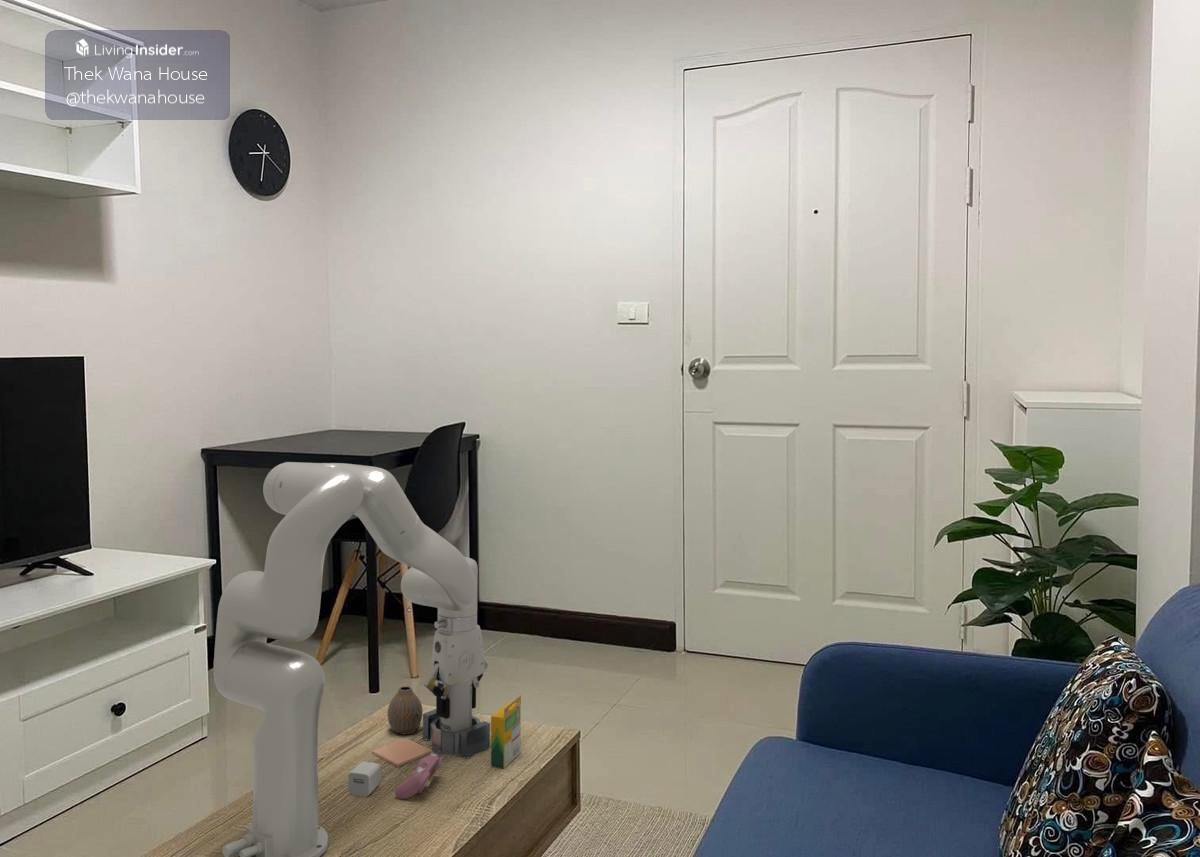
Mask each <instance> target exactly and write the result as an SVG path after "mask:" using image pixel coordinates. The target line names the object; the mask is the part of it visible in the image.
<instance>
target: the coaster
mask: <svg viewBox="0 0 1200 857" xmlns="http://www.w3.org/2000/svg"><path fill="white" fill-rule="evenodd" d="M432 752H433V749H430V748H428V747H426V746H424V745H422V744H419V743H417V742H414V741H413V740H411V739H408V738H406V737H405V738H403V739H399V740H397V741H394V742H391V743H389V744H386V745H383V746H382V747H378V748H375V749H373V750H371V754H372V755H373V756H376V757H378V758H379V759H382V760H383V761H385V760H386V761H385V762H387V763H389V762H390V764H391V763H392V765H394V766H395V765H396V766H395V767H396V768H398V767H401V766H403V765H406V764H408V763H411V762H413V761H416V760H418V759H422V758H424V757H426V756H428V755H429V754H431V753H432Z"/></svg>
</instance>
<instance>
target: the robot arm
mask: <svg viewBox="0 0 1200 857" xmlns="http://www.w3.org/2000/svg"><path fill="white" fill-rule="evenodd" d="M262 491H263V492H262V495H263V497H264V500H265V502H266V504H267V505H268V507H269V508H270V509H271V510H272V511H274V512H276V513H278V514H281V515H284V517H283V518H282V519H281V520H280V522H279V523H278V524H277V526H276V527H275V528H274V529H273V531H272V533H271V535H270V537H269V541H268V542H267V543H268V544H267V548H266V554H265V562H264V568H263V571H260V570H248V571H245V572H244V571H243V572H241V573H239V574H237V575H236V576H234V577H232V579H231V580H230V581H229V582H228V584H227V585H226V587H225V588H224V590H223V593H222V594H221V596H220V599H219V603H218V606H217V607H218V608H217V617H216V626H215V627H216V628H215V641H214V643H215V644H214V655H213V656H214V657H213V679H214V685H215V687H216V690H217V691H218V693H219V694H220V695H221V696H222V697H224V698H226V699H227V700H230V701H232V702H236V703H238V704H242V705H246V706H249V707H252V708H255V709H258V710H260V711H262V713H263V717H262V719H261V721H260V723H259V725H258V727H257V728H256V731H255V732H254V734H253V739H252V743H251V744H252V745H251V746H252V747H251V748H252V750H251V751H252V753H251V754H252V756H251V757H252V812H253V813H252V817H253V818H252V819H253V820H252V821H253V824H250V825H248V826H246V834H244V835H242V836H241V838H240V839H238V840H234V841H231V842H229V843H227V844H224V845H223V846H222V848H221V852H222V855H223V857H234V856H236V855H239V857H321V856H322V855H323V854H324V853H325V852H326V851H327V849H328V847H329V833H328V832H327V830H326V829H325V828H324V827H322V826H321V825H319V754H318V753H319V751H318V748H319V744H318V743H319V735H318V734H319V716H320V708H321V703H322V699H323V695H324V689H325V681H326V680H325V678H326V677H325V671H324V669H323V667H322V665H321V664H320V662H319V661H318V660H317V659H316V658H315V657H313V656H311V654H308V653H306V652H304V651H301V650H298V649H295V648H294V649H293V648H290V647H285V646H280V645H276V644H272V643H268V642H267V640H268V639H273V640H276V641H277V640H278V641H283V642H289V643H291V642H293V643H294V642H295V643H297V642H303V641H304V640H307V639H309V638H311V637H312V635H313V634H314V633H315V631H316V629H317V626H318V623H319V618H320V617H319V616H320V613H321V612H320V610H321V603H322V602H321V599H322V588H323V587H322V586H323V574H324V566H325V565H324V564H325V556H326V552H327V548H328V546H329V544H330V542H331V539H332V538H333V537H334V536H335V534H336V533H337V532H338V530H339V529H340V528H341V527H342V525H344V524H345V523H346V522H347V521H348V520H349V519H351V518H352V516H356V517H357V518H358V519H359V520H360V521H361V522H362V524H363V525H364V527H365V529H366V530H367V531H368V533H369V535H370V536H371V537H372V539H373V540H374V542H375V544H376V545H377V547H378V548H379V549H380V551H381V552H382V553H383V554H385V555H386V556H388V557H390V558H391V559H393V560H395V561H396V562H399V563H401V564H403V565H405V566H407V567H410V568H409V569H407V570H406V571H405V573H404V574H403V576H402V578H401V581H400V591H401V594H402V595H403V597H404V598H405V600H407V601H409V602H410V603H412V604H417V605H420V606H425V607H426V606H427V607H432V608H436V609H437V621H434V625H433V626H434V628H435V629H437V630H435V632H434V637H433V643H432V651H431V661H430V662H431V664H430V665H431V666H430V672H429V673H428V674H427V677H426V678H425V679H424V681H423V686H424V687H426V689H427V690H428V691H429V692H431V693H432V694H433V696H435V697H436V699H435V702H436V703H435V705H436V706H435V709H436V714H437V715H438V716H440V717H443V718H445V719H447V718H449V717H450V699H449V698H447V696H448V692H449V689H450V686H452V685H455V684H458V683H460V682H462V681H464V680H466V679H472V710H473V709H476V708H477V688H479V687H480V683H479V682H480V681H481V679H482V678H483V676H484V673H485V672H486V670H487V669H488V666H489V664H488V662H487V661H486V660H485V652H484V641H483V634H482V630H481V626H480V625H479V624H478V582H479V580H478V573H479V572H478V571H479V570H478V569H479V568H478V564H477V561H476V560H475V559H473V558H471V557H467V556H464V554H462V552H461V551H460V550H459V549H458V548H457V547H456V546H455V545H453V544H452V543H450V542H449V541H448V540H446V539H445V538H444V537H443V536H441V535H440V534H439V533H437V532H436V531H434V530H433V529H432V528H430V527H429V526H428V525H426V524H424V522H423V521H422V520H421V519H420V517H419V515H418V514H417V512H416V511H415V509H414V507H413V505H412V504H411V502H410V500H409V498H407V495H406V494H405V492H404V491H403V488H402V487H401V486H400V484H399V482H398V480H397V479H396V477H395V476H394V475H393V474H392V473H391V472H390V471H388V470H387V469H384V468H382V467H377V466H370V465H363V464H354V463H353V464H352V463H343V462H342V463H341V462H339V463H338V462H329V463H328V462H321V463H320V462H296V461H294V462H293V461H285V462H282V463H280V464H278V465H276V466H274V467H273V468H272V469H271V470H270V471H269V472H268V473H267V475H266V477H265V479H264V481H263V487H262ZM435 683H436V684H435ZM442 684H443V685H444V687H443V690H441V688H442Z"/></svg>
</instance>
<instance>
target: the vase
mask: <svg viewBox="0 0 1200 857" xmlns="http://www.w3.org/2000/svg"><path fill="white" fill-rule="evenodd" d="M412 688H413V687H411V686H410V685H402V686H400V687H399V688H398V691H397V692H396V693H395V695H394V696H393V697H392V699H391V701H390V702H389V705H388V709H387V722H388V724H389V726H390V728H391V729H392V730H393V731H394V732H395V733H397V734H399V733H400V734H401V735H407V734H408V733H409V734H412V733H414V732H415V731H416V730H418V728H419V727H420V725H421V723H422V721H423V714H424V712H423V710H424V709H423V706H422V702H421V700H420V698H419V697H418V696H417V694H416V693H415V692H414V691H413V689H412Z"/></svg>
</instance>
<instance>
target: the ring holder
mask: <svg viewBox="0 0 1200 857" xmlns="http://www.w3.org/2000/svg"><path fill="white" fill-rule="evenodd" d="M440 723H441V717H440V716H438V715H437V714H436V708H434V709H431V710H430V711H427V712H423V715H422V739H424V740H426V739H427V740H426V741H429V743H430V746H431V750H434V751H436V752H439V753H440V754H445V753H446V754H447V755H460V756H461V757H462V758H464V757H465V758H464V759H468V758H470V757H472V755H473V756H475V755H477V754H480V753H482V752H485V751H487V750H489V749H491V722H488V721H481V719H480V718H479V717H477V716H474V715H472V726H471V727H468V728H466V729H463V730H461V732H445V731H442V730H440ZM488 748H489V749H488ZM486 749H487V750H486ZM481 751H482V752H481ZM479 752H480V753H479ZM476 753H477V754H476ZM474 754H475V755H474ZM467 757H468V758H467Z"/></svg>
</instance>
